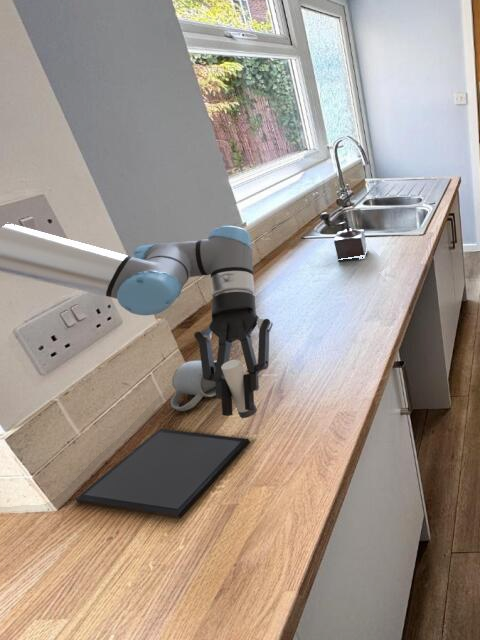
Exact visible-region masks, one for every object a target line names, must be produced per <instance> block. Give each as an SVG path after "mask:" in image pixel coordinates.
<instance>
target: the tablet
mask: <svg viewBox="0 0 480 640" xmlns="http://www.w3.org/2000/svg"><path fill="white" fill-rule="evenodd" d="M249 444H250V440H249V438H245V437H244V438H243V437H235V436H225V435H217V434H211V433H199V432H191V431H183V430H175V429H166V428H159V429H157V431H155V432H154V433H152V435H151V436H149V437H148V438H147V439H146V440H145V441H144V442H142V443H141V444H140V445H138V446H137V447H136V448H135V449H134V450H133V451H131V452H130V453H128V454H127V456H125V457H124V458H123V459H122V460H120V461H119V462H117V464H116V465H114V466H113V467H112V468H111V469H110V470H108V471H107V472H106V473H105V474H103V475H102V476H101V477H100V478H99V479H97V480H96V481H95V482H94V483H93V484H91V485H90V486H89V487H88V488H87V489H85V490H84V491H83V492H82V493H80V494H79V495H78V496H77V497H75V501H76V502H77V504H83V505H88V506H96V507H101V508H109V509H114V510H121V511H128V512H134V513H141V514H148V515H154V516H160V517H166V518H172V519H179V520H180V519H182V517H183V516H184V515H185V514H186V513H187V512H188V511H189V510H190V509H191V508H192V507H193V506H194V504H195V503H196V502H197V501H198V500H199V499H200V498H201V497H202V496H203V495H204V493H205V492H206V491H207V490H208V489H209V488H210V487H211V486H212V485H213V483H214V482H215V481H216V480H217V479H218V478H219V477H220V476H221V475H222V474H223V472H225V470H227V468H228V467H229V466H230V465H232V463H233V462H234V461H235V459H237V457H238V456H239V455H240V454H241V453H242V452H243V451H244V450H245V449H246V448H247V446H248V445H249Z"/></svg>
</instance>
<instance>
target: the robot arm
mask: <svg viewBox="0 0 480 640" xmlns="http://www.w3.org/2000/svg"><path fill="white" fill-rule="evenodd" d="M14 224H15V223H11V224H5V225H4V226H2V227H1V228H0V273H2V274H6V275H11V276H16V277H19V278H25V279H28V280H34V281H38V282H42V283H47V284H51V285H54V286H55V285H56V286H60V287H64V288H68V289H73V290H78V291H82V292H86V293H90V294H94V295H95V294H96V295H100V296H105V297H108V298H111V299H116V300H117V301H118V304H119V305H120V306H121V307H122V308H123V309H125V310H126V311H127V312H129V313H131V314H133V315H137V316H154V315H157V314H160V313H162V312H164V311H166V310H167V309H168V308H170V306H171V305H172V304H173V303H174V302H175V301H176V300H177V299H178V298H179V297H180V295H181V292H182V290H183V288H184V286H185V285H186V284H187V282H188V281H189V278H194V277H195V278H196V277H203V276H209V275H210V296H211V297H212V298H211V299H210V303H211V304H210V306H211V307H210V309H211V320H210V321H211V322H210V323H209V325H208V327H207V328H205V329H204V330H202V331H196V332H195V333H194V334H193V336H194V338H195V339H196V341H197V342H198V347H199V354H200V361H201V364H202V372H203V378H204V379H205V380H209V381H215V383H216V395H215V397H216V399H218V400H221V415H222V416H225V417H229V416H233V397H232V395H231V392H230V390H229V387H228V384H227V382H226V379H225V376H224V374H223V371H222V369H221V366H222V365H223V364H224V363H226V362H228V361H230V355H231V348H232V347H233V342H236V341H239V342H240V345H241V349H242V353H243V358H244V362H245V367H246V374H244V375H243V377H244V397H245V410H253V409H254V403H255V397H254V396H255V395H254V392H256V391H259V388H260V385H259V384H260V383H259V374H260V372H262V371H263V370H267V369H268V368H269V359H270V333H271V330H272V327H273V325H274V323H273V322H272V321H271V319H269V318H259V316H258V315H257V310H256V296H255V295H254V294H255V291H256V290H255V280H254V279H255V278H254V263H253V262H254V261H253V260H254V259H253V248H252V247H253V246H252V241H251V234H250V233H249V232H248V230H246V229H244V228H242V227H239V226H235V225H222V226H221V225H220V226H219V227H215V228H213V229H211V231H210V232H209V236H208V239H207V238H206V239H200V240H187V241H176V242H155V243H152V244H144V245H140V246H137V247H136V248H135V250H134V251H133V255H132V256H130V255H126V254H124V253H123V254H122V253H119V252H116V251H112V250H108V249H105V248H102V247H101V248H100V247H98V246H94V245H90V244H86V243H83V242H80V241H76V240H72V239H68V238H64V237H61V236H58V235H54V234H50V233H47V232H43V231H40V230H37V229H32V228H29V227H25V226H21V225H18V224H15V225H14ZM256 327H257V329H259V330H258V352H257V353H258V355H257V359H256V355H255V351H254V347H253V340H252V336H251V334H252V332H253V331H254V330H255V329H256ZM212 334H214V335H215V336H216V337H217V338H218V342H217V344H218V349H217V357H216V361H217V363H216V370H215V367H214V361H215V359H214V353H213V346H212V342H211V340H212V338H213V336H212Z"/></svg>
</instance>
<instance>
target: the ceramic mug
mask: <svg viewBox="0 0 480 640" xmlns="http://www.w3.org/2000/svg"><path fill="white" fill-rule="evenodd" d="M216 363H217V360H214V367H215V370H216ZM171 381H172V387H173V389H174V390H175V393H174V394H173V396H172V397H171V400H170V406H171V407H172V408H173V409H174V410H176V411H178V412H187V411H188V410H190V409H192V408H194V407H195V406H196V405H197V404H198V403H200V401H201V400H202V399H203V398H204V397H205V398H212V397H216V383H215V381H209V380H205V379H204V378H203V372H202V364H201V360H189V361H186V362H184V363H182V364H181V365H179V367H177V368H176V369H175V371H174V373H173V375H172V379H171ZM182 395H189V396H190V395H191V396H194V397H193V398H192V399H191V400H189V401H188V402H187V403H186V404H184V405H182V406H180V405H179V404H178V402H179V400H180V398H181V397H182Z"/></svg>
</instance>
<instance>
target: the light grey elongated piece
mask: <svg viewBox="0 0 480 640" xmlns="http://www.w3.org/2000/svg"><path fill="white" fill-rule="evenodd" d="M221 369H222V371H223V374H224V376H225V379H226V382H227V384H228V387H229V390H230V392H231V395H232V401H233V402H234V405H235V408H236V410H237V412H238V416H239V417H240V418H241V419H247V418H250V417H252V416H254V415H255V414H256V413H257V411H258V410H257V406H256V403H255V402H254V409H253V410H245V397H244V377H243V375H245V372H244V369H243V366H242V363H241V361H240V360H239V359H229V361H228V362H226V363H224V364H223V365H222V366H221Z"/></svg>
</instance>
